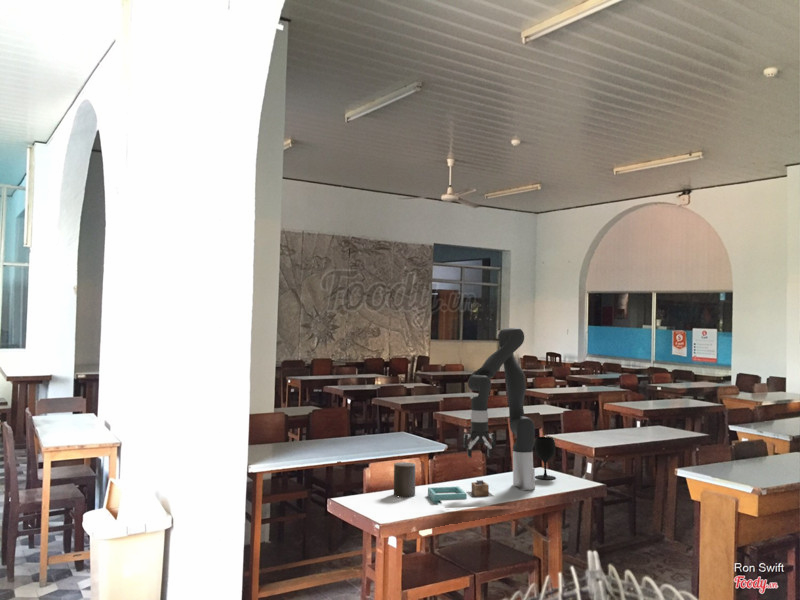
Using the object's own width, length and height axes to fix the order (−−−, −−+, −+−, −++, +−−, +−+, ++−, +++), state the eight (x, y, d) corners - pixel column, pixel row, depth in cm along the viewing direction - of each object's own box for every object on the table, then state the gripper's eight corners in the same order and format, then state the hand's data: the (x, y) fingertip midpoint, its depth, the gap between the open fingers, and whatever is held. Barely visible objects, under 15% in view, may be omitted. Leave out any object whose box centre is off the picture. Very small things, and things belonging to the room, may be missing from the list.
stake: (487, 494, 287) (487, 477, 287) (494, 499, 277) (494, 482, 277) (466, 495, 285) (465, 478, 285) (472, 500, 275) (472, 483, 276)
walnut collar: (484, 492, 284) (484, 481, 285) (488, 495, 278) (488, 484, 279) (471, 492, 283) (471, 482, 284) (475, 495, 277) (475, 485, 278)
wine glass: (560, 478, 319) (559, 438, 321) (544, 481, 314) (544, 440, 316) (545, 475, 328) (545, 435, 330) (530, 477, 323) (530, 437, 324)
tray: (458, 494, 286) (458, 486, 287) (466, 502, 273) (466, 493, 273) (427, 495, 284) (427, 487, 284) (434, 503, 270) (434, 495, 271)
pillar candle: (395, 498, 280) (396, 463, 281) (391, 492, 289) (392, 459, 290) (417, 497, 282) (417, 462, 283) (412, 492, 291) (413, 458, 292)
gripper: (492, 419, 288) (492, 455, 287) (461, 419, 286) (461, 456, 285) (497, 421, 281) (497, 458, 279) (466, 421, 278) (466, 459, 277)
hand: (479, 457), depth 282 cm, fingers open, 8 cm apart
